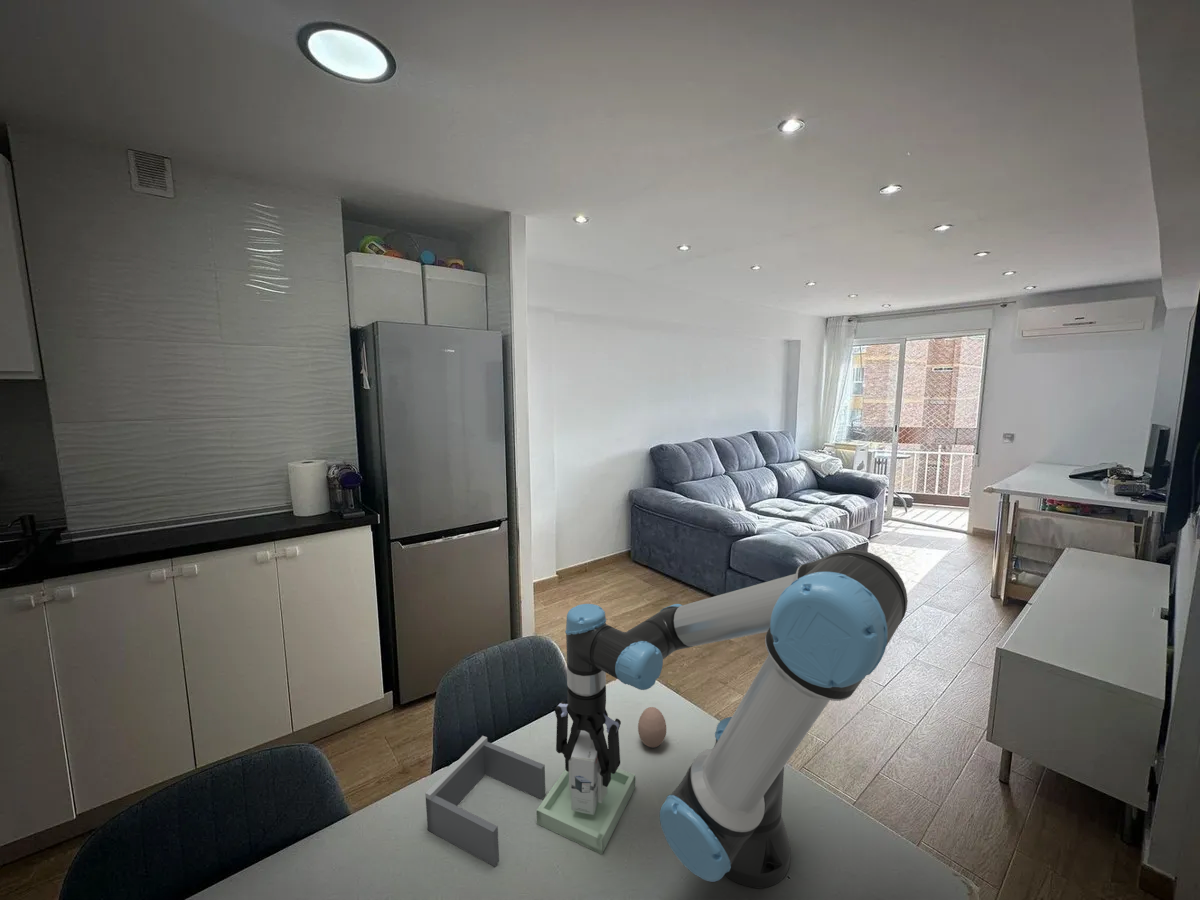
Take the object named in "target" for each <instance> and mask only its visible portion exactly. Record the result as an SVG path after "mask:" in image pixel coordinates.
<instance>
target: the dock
mask: <svg viewBox="0 0 1200 900" xmlns="http://www.w3.org/2000/svg"><path fill="white" fill-rule="evenodd" d="M545 767H546V765H545V764H543V763H541V762H540V761H536V760H534V759H531V758H529V757H526V756H524V755H522V754H518V753H516V752H513V751H512V750H510V749H507V748H503V747H501V746H499V745H497V744H494V743H492V742H489V741H488V737H487V736H484V735H481V737H479V739H478V740H477V741H476V742H475V743H474V744H473V745H471V747H470V748H469V749H468V750H467V751H466V752H465V753H464V754H462V756H461V757H460V758H459V759H458V760H457V761H455V763H454V764H453V765H451V767H450V768H449V769H448V770H447V771H446V772H445V773H443V775H441V777H440V778H439V779H438V780H437V781H436V782H435V783H433V784H432V786H430V787H429V789H428V790H427V791H426V792H425V808H426V824H427V831H428V832H430V833H432V834H433V835H435V836H437V837H439V838H440V839H443V840H444V841H447V842H448V843H450V844H452V845H454V846H456V847H458V848H459V849H462V850H463V851H464V852H467V853H469V854H470V855H472V856H474V857H475V858H478V859H480V860H481V861H483V862H485V863H486V864H489V865H490V866H493V867H494V868H495V867H496V866H497V865H498V863H499V862H500V851H499V845H500V844H499V829H498V828H499V827H498V825H496V824H495V823H492V822H490V821H488V820H486V819H483V818H482V817H479V816H478V815H475V814H474V813H472V812H470V811H468V810H465V809H464V808H462V807H460V806H458V805H459V804H460V803H461V802H462V800H463V799H465V797H466V796H467V795H468V794H469V793H470V792H471V790H472V789H474V787H475V786H476V785H477V784H478V783H479V782H480V781H481V780H482V779H483V777H484V776H488V777H490V778H492V779H494V780H497V781H499V782H501V783H504V784H506V785H508V786H510V787H512V788H514V789H517V790H519V791H522V792H524V793H525V794H528V795H531V796H533V797H535V798H537V799H540V800H541V801H543V800H544V799H545V797H546V769H545Z"/></svg>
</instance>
